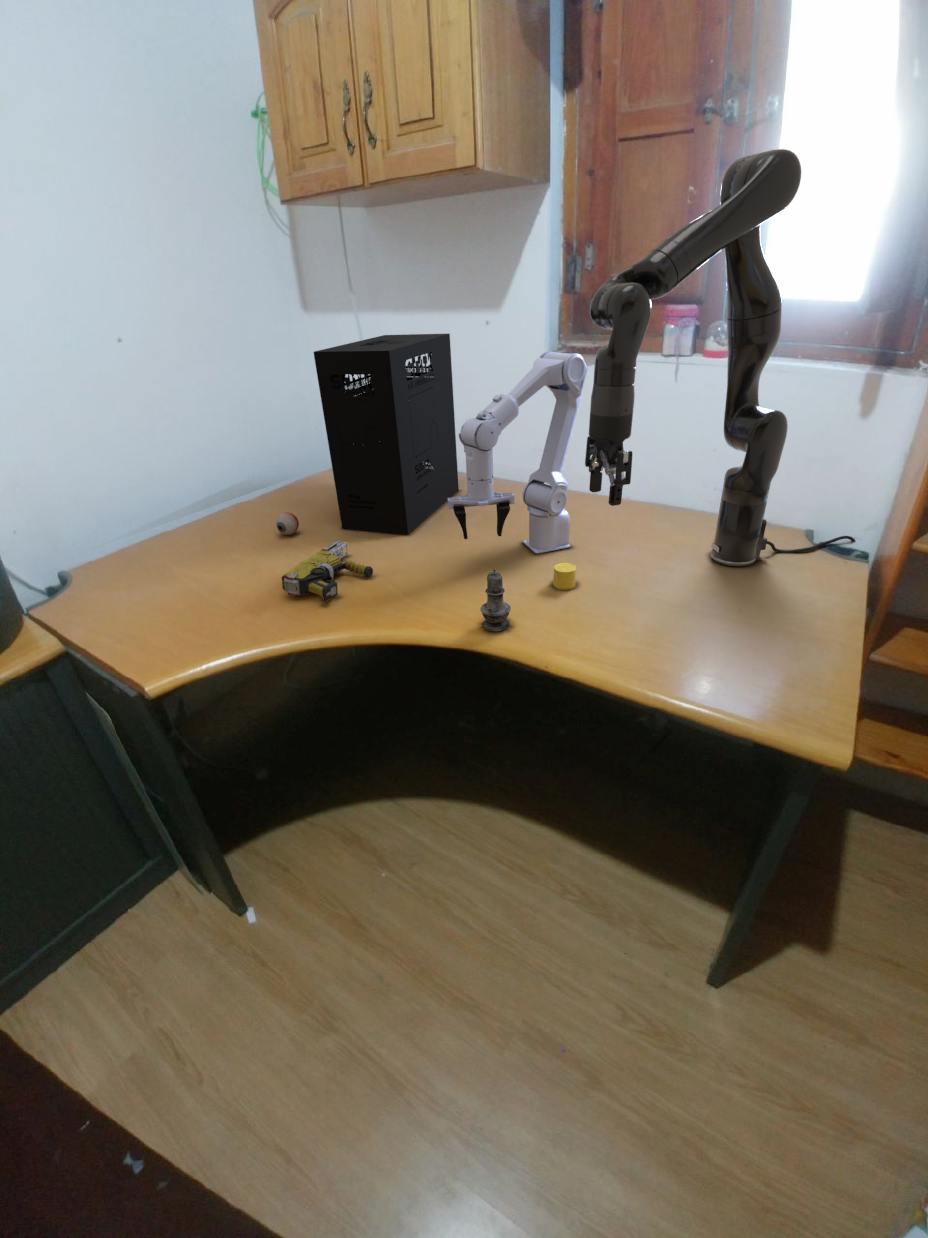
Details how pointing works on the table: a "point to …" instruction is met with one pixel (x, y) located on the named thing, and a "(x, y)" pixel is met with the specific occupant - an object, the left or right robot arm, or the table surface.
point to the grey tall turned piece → (495, 604)
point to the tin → (564, 576)
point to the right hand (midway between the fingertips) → (604, 497)
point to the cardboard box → (390, 429)
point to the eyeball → (287, 523)
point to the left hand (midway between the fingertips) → (482, 536)
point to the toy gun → (321, 572)
